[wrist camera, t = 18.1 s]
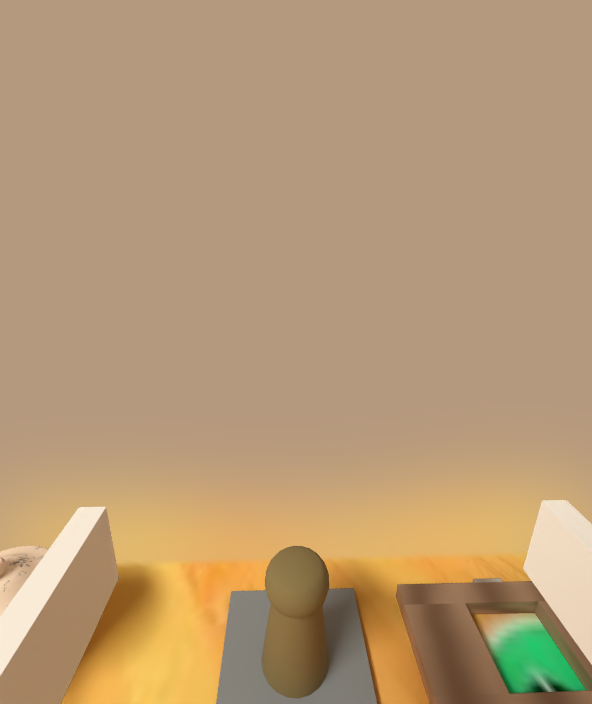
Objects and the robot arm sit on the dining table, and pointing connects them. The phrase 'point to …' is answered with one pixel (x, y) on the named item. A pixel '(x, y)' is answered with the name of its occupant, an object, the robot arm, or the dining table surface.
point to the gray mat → (247, 646)
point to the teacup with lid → (17, 570)
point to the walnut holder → (479, 641)
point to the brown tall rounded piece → (296, 623)
